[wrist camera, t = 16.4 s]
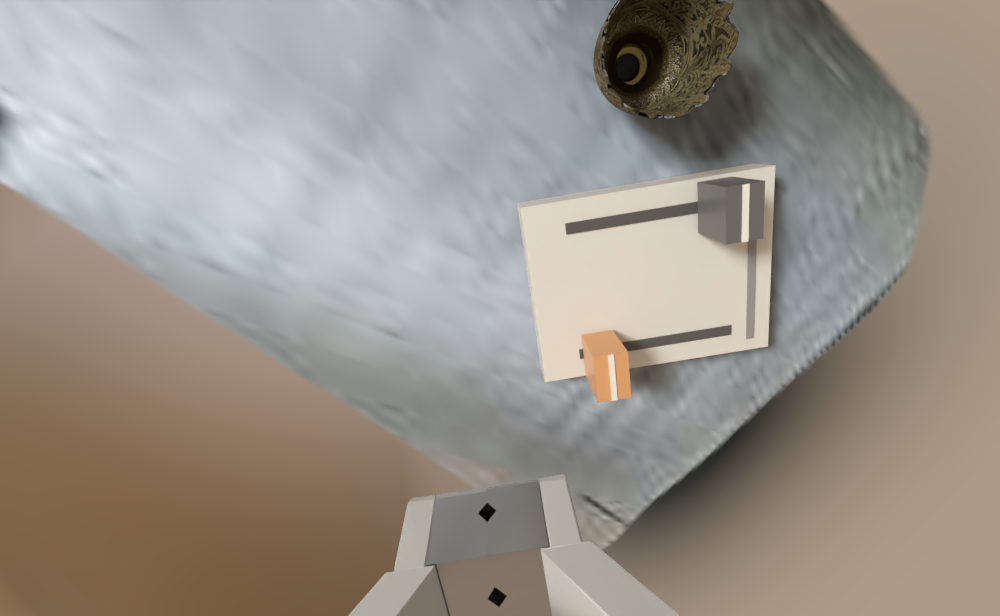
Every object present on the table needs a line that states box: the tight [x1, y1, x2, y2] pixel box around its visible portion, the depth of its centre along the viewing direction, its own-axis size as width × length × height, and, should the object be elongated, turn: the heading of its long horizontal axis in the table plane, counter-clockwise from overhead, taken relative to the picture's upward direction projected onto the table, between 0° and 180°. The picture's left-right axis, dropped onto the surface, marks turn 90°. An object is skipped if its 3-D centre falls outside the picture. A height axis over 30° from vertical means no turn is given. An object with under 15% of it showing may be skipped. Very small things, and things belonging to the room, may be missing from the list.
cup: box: [594, 0, 739, 119], centre depth 29 cm, size 8×7×8 cm
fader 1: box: [581, 330, 631, 402], centre depth 34 cm, size 4×2×4 cm, turn 9°
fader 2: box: [697, 176, 765, 245], centre depth 31 cm, size 4×2×4 cm, turn 9°
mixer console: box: [517, 164, 775, 382], centre depth 36 cm, size 14×18×3 cm
